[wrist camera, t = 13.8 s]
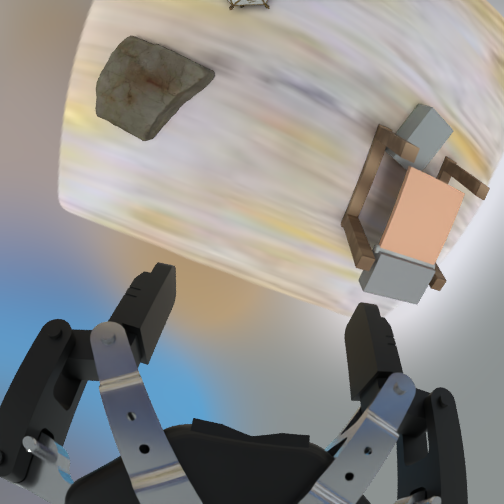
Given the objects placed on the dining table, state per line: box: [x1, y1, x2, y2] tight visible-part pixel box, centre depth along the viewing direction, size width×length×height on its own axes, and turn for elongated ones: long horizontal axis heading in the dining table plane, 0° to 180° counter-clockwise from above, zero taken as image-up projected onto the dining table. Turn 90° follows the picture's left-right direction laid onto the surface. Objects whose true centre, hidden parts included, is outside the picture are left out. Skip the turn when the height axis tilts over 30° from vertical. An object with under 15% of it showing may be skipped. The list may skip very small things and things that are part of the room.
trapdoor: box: [359, 166, 465, 304], centre depth 35 cm, size 18×11×3 cm, turn 167°
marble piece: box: [96, 36, 214, 141], centre depth 36 cm, size 17×15×4 cm
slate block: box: [385, 104, 453, 171], centre depth 35 cm, size 5×5×10 cm
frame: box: [341, 124, 489, 291], centre depth 37 cm, size 18×15×13 cm
